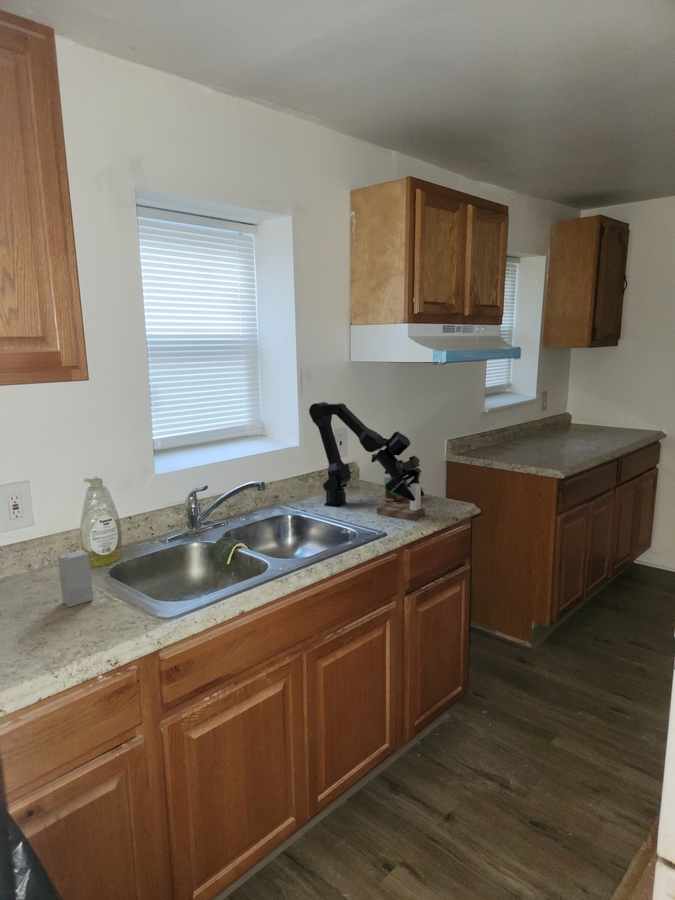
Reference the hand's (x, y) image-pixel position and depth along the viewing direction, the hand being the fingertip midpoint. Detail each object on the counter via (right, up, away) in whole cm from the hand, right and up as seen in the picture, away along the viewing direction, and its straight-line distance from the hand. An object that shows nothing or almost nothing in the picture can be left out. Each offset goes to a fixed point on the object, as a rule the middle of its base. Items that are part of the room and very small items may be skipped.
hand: (418, 498), depth 207 cm
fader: (-1, -4, +1) cm, 4 cm away
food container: (-5, -3, +23) cm, 24 cm away
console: (-6, -6, +5) cm, 10 cm away
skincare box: (-91, -20, -63) cm, 113 cm away
